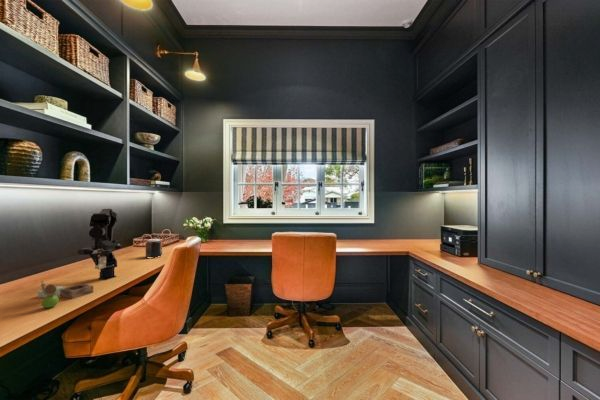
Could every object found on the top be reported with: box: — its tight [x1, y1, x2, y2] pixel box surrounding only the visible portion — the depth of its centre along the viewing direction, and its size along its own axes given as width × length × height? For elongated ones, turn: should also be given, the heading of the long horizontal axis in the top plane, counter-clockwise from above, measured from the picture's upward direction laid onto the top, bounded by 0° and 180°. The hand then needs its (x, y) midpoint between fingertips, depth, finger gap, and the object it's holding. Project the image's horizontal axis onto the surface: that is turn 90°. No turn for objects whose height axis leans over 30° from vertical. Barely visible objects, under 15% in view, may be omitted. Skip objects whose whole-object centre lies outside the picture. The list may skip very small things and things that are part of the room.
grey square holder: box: [59, 283, 94, 300], centre depth 125 cm, size 9×9×4 cm
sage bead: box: [37, 285, 67, 298], centre depth 125 cm, size 7×7×3 cm
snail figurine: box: [40, 280, 60, 309], centre depth 110 cm, size 5×6×12 cm
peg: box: [94, 255, 106, 270], centre depth 135 cm, size 3×3×6 cm
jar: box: [145, 238, 163, 258], centre depth 208 cm, size 12×12×15 cm
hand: (100, 264), depth 135 cm, fingers closed on peg, 3 cm apart
